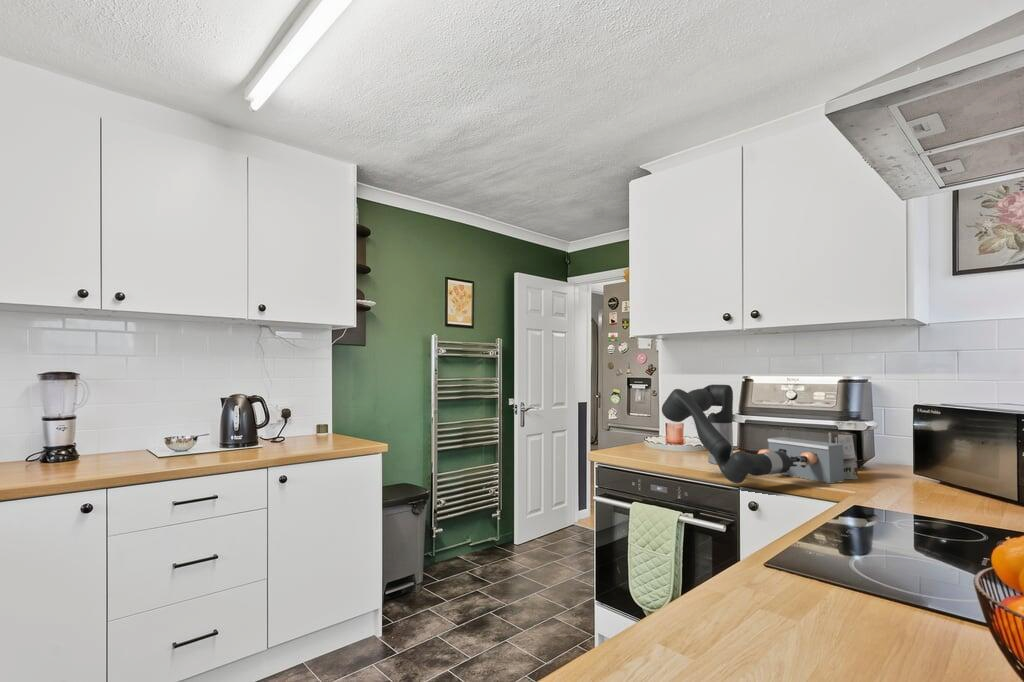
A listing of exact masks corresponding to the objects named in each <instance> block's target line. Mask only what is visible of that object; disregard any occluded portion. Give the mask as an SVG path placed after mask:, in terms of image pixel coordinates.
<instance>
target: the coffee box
mask: <svg viewBox="0 0 1024 682" xmlns="http://www.w3.org/2000/svg"><path fill="white" fill-rule="evenodd" d="M857 442H858V441H857V434H855V433H852V432H846V431H834V432H833V431H829V432H828V443H835V444H843V463H844V480H856V479H857V480H858V479H859V476H858V451H857V449H858V448H857V447H858V445H857Z"/></svg>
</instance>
